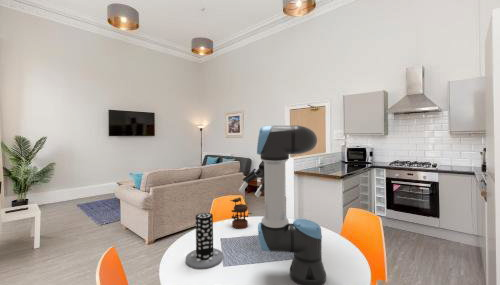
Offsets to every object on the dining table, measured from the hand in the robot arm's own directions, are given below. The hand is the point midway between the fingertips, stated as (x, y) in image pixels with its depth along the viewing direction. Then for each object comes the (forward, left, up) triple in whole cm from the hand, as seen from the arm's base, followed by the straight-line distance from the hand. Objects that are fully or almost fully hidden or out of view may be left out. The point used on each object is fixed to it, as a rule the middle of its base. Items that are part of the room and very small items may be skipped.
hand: (248, 194), depth 130 cm
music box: (+27, -16, -29) cm, 43 cm away
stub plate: (+4, +25, -29) cm, 38 cm away
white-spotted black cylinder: (+4, +25, -28) cm, 37 cm away
